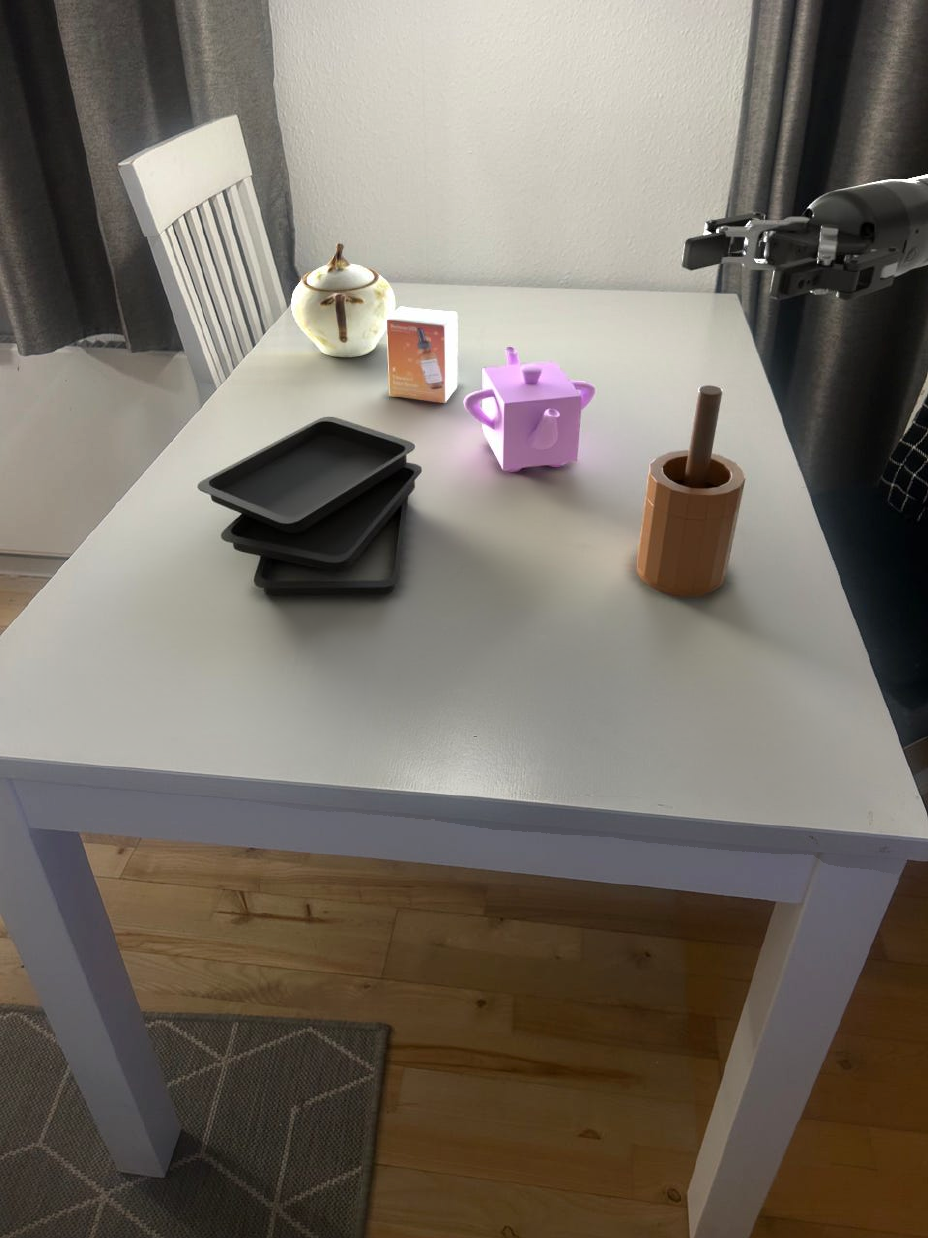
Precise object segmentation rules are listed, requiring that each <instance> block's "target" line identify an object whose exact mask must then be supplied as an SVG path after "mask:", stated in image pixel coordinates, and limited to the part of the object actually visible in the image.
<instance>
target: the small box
mask: <svg viewBox="0 0 928 1238" xmlns="http://www.w3.org/2000/svg"><path fill="white" fill-rule="evenodd" d="M386 323H387V329H386V342H387V366H388V368H387V369H388V389H389V392H388V393H389V394H388V395H389V397H393V398H394V397H395V398H405V399H411V400H417V401H418V400H419V401H425V402H431V403H432V402H434V403H442V404H446V403H447V401H448V400H449V399H450V398H451V396H452V395H453V394H454V392H455V391H456V390H457V388H458V312H457V311H446V310H434V309H426V308H425V309H423V308H417V307H415V308H414V307H408V306H403V305H401V306H399V307H398V308H396V310H394V313H393V314H392V315H391V316H390V317H389V318H388V319H387V321H386Z"/></svg>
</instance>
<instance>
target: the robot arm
mask: <svg viewBox="0 0 928 1238" xmlns="http://www.w3.org/2000/svg"><path fill="white" fill-rule="evenodd" d="M765 218H766V214H765V213H762V212H760V211H754V212H750V213H744V214H738V215H733V216H728V217H727V216H726V217H721V218H716V219H710V220H707V221H705V223H704V224H705V225H704V232H703V234H702V235H698V236H694V237H689V238H687V239H685V242H684V245H683V249H682V256H681V257H682V258H681V267H682V268H683V269H685V270H688V271H691V272H692V271H695V270H700V269H705V268H708V267H712V266H716V265H721V264H722V265H723V264H741V265H742V266H743V268H744V269H745V270H747V271H773V272H772V278H771V283H770V289H769V298H771V299H775V300H777V301H782V300H786V299H789V298H793V297H797V296H800V295H804V294H807V293H812V294H814V295H816V296H822V295H826V294H829V293H830V294H836V295H835V296H836V298H838V299H841V300H842V301H848V300H853V299H856V298H860V297H863V296H866V295H868V294H872V293H874V292H877V291H879V290H882V289H886V288H888V287H890V286H892V285H893V282H894V278H896V277H898V276H901V275H903V274H905V273H907V272H909V271H911V270H915V269H918V268H921V267H924V266H927V265H928V174H925V175H921V176H916V177H912V178H908V179H885V180H880V181H875V182H869V183H866V184H861V185H856V186H851V187H845V188H841V189H835V190H832V191H829V192H826V193H824V194H822V195H820V196H819V197H817V198H816V199H815V200H814V201H812V203H810V204H809V206H808V207H807V208H806V209H805V211H804V212H803V213H802V214H801V216H788V217H786V218H785V219H765ZM761 243H765V248H764V251H763V252H764V253H763V258H756V252H757V248H759V247H761V246H760V245H761Z"/></svg>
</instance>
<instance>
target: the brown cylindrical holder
mask: <svg viewBox="0 0 928 1238" xmlns="http://www.w3.org/2000/svg"><path fill="white" fill-rule="evenodd" d="M688 452H689V449H683V450H675V451H669V452H666V453H664V454H662V455H659V456H657V457H655V458H654V459H653V460H652V461H651V462H650V464H649V465H648V472H647V473H648V474H647V482H646V488H645V498H644V504H643V512H642V519H641V527H640V535H639V542H638V549H637V563H636V572H637V575H638V576H639V578H640V579H641V580H642V582H644V584H645V585H647V586H649V587H650V588H652V589H654V590H656V591H658V592H660V593H664V594H667V595H672V596H675V597H676V596H677V597H700V596H704V595H708V594H711V593H713V592H715V591H717V590H718V589H719V588H720V587H721V586H722V585H723V584H724V581H725V578H726V575H727V572H728V567H729V562H730V558H731V557H730V556H731V552H732V548H733V547H732V546H733V542H734V539H735V533H736V528H737V523H738V519H739V513H740V508H741V502H742V498H743V494H744V487H745V483H746V475H745V471H744V469H743V468H742V467H741V466H740V465H739V464H738V463H737V462H736V461H734V460H732V459H729V458H727V457H726V456H723V455H720V454H717V453H713V452H712V455H711V460H710V466H709V472H708V478H707V483H706V489H698V488H690V487H686V486H683V484H684V478H685V471H686V465H687V459H688Z"/></svg>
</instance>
